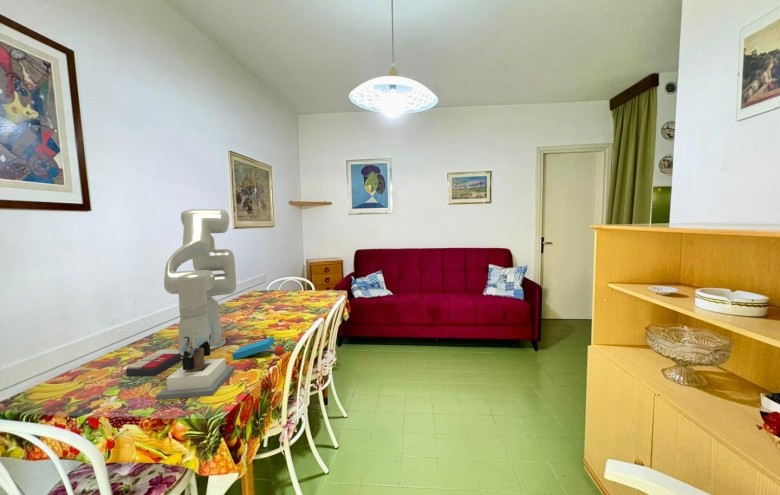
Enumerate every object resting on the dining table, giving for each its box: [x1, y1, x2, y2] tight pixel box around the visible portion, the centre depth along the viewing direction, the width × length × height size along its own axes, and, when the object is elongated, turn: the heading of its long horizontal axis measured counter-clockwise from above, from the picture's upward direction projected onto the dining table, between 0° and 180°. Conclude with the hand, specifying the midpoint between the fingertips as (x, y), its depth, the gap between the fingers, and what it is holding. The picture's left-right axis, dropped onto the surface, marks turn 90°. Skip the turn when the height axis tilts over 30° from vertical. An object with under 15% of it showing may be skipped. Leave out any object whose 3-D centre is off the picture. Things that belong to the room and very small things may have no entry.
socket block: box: [155, 357, 235, 401], centre depth 95 cm, size 16×16×6 cm
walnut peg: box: [188, 348, 205, 372], centre depth 95 cm, size 4×4×10 cm
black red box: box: [125, 348, 182, 377], centre depth 109 cm, size 11×4×15 cm
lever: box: [231, 336, 284, 361], centre depth 117 cm, size 7×7×18 cm
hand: (197, 362), depth 95 cm, fingers open, 9 cm apart
